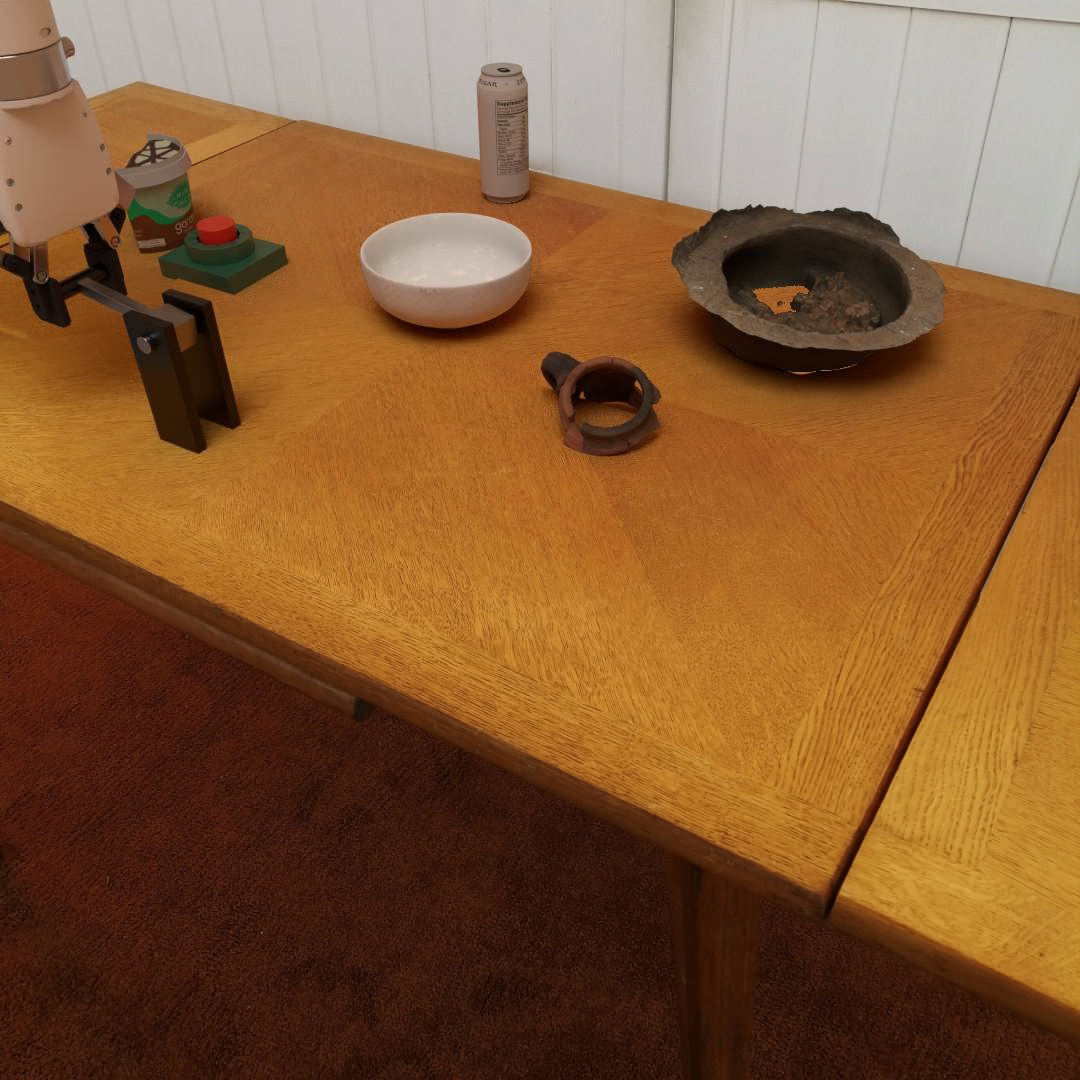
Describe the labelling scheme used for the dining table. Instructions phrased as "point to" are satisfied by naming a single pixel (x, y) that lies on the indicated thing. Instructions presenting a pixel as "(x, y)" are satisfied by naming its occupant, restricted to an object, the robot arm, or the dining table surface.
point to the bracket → (183, 372)
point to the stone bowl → (808, 285)
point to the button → (216, 230)
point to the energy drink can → (503, 132)
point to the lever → (127, 302)
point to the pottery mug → (601, 400)
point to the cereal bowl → (447, 268)
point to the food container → (160, 194)
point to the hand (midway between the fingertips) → (83, 305)
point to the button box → (224, 261)
